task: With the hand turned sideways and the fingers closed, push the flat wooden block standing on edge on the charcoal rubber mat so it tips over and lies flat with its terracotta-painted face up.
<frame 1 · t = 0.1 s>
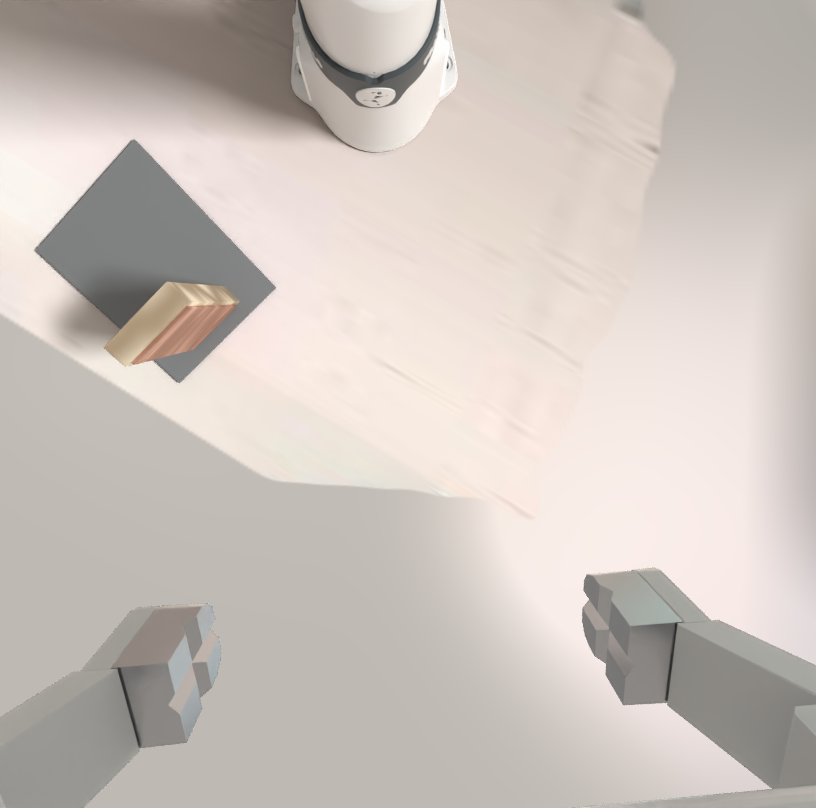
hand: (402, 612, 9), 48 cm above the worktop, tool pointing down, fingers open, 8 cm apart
flat wooden block: (207, 318, 53), resting on rubber mat
rubber mat: (159, 269, 52), on the worktop
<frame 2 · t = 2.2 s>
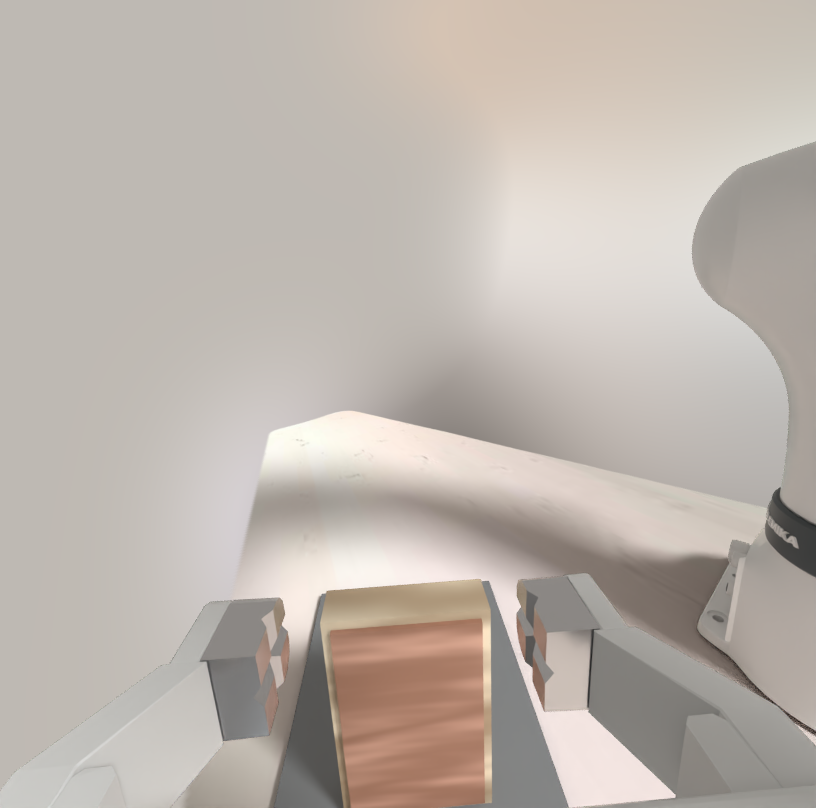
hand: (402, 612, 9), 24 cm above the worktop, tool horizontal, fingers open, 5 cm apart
flat wooden block: (417, 786, 27), resting on rubber mat
rubber mat: (411, 680, 35), on the worktop
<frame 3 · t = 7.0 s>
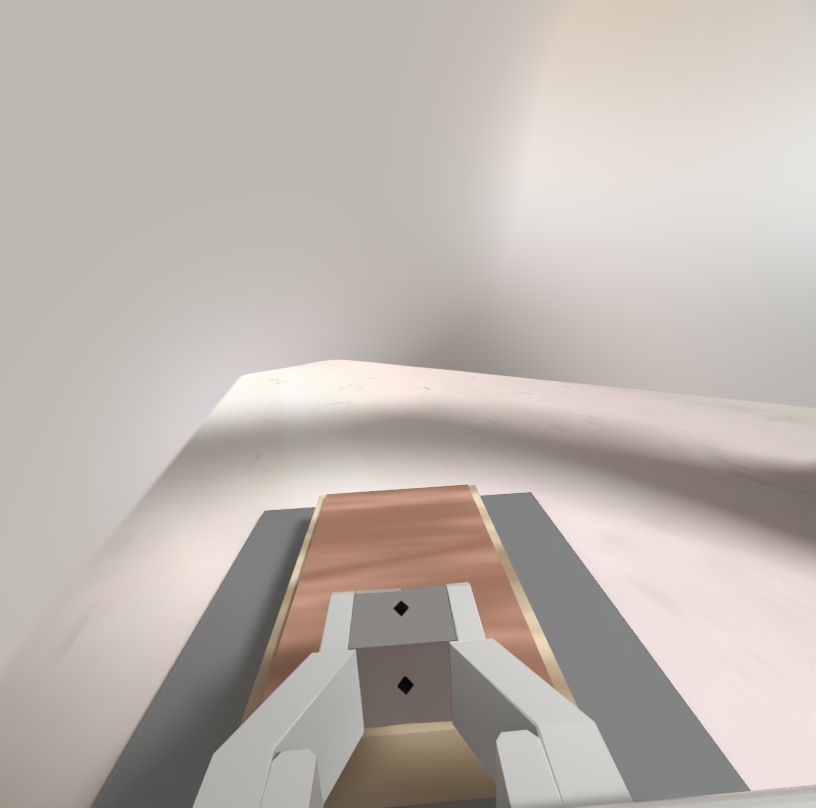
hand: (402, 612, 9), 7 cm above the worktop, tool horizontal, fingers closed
flat wooden block: (411, 769, 11), point 2 cm above the worktop, tilted 90°, touching rubber mat
rubber mat: (405, 631, 18), on the worktop
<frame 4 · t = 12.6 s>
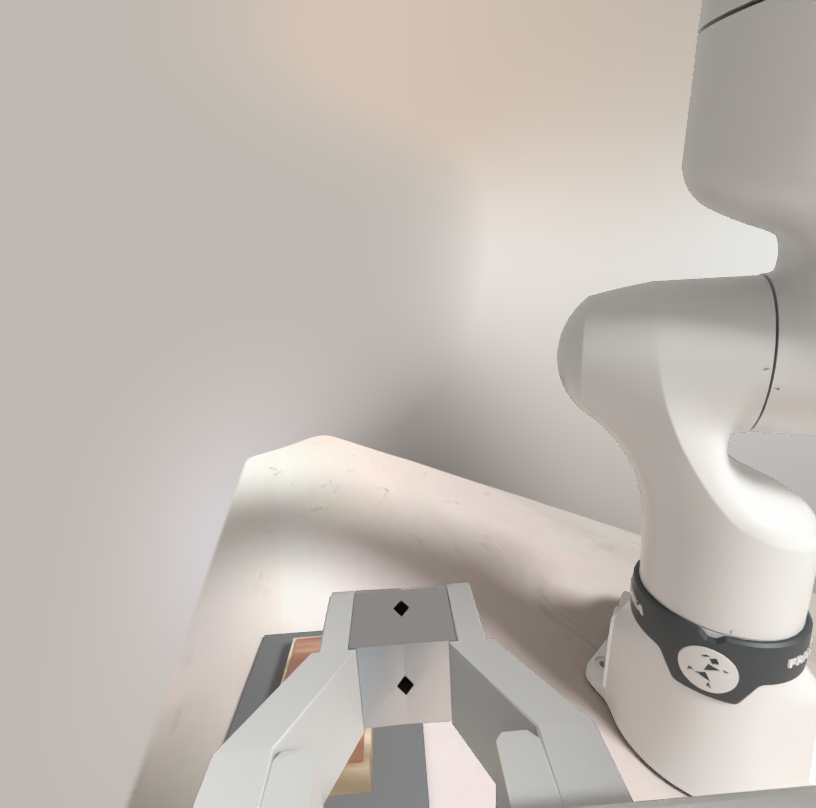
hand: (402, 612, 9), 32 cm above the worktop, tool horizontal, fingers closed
flat wooden block: (313, 785, 33), point 2 cm above the worktop, tilted 90°, touching rubber mat
rubber mat: (327, 721, 40), on the worktop
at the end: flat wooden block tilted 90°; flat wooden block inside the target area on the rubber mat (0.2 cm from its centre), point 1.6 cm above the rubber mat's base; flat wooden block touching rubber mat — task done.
